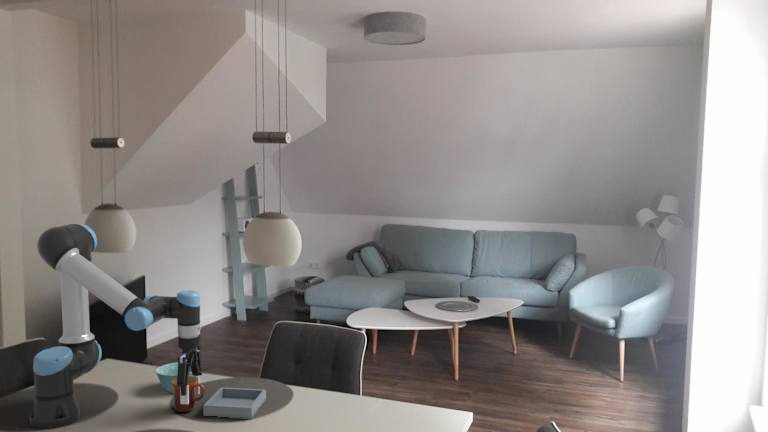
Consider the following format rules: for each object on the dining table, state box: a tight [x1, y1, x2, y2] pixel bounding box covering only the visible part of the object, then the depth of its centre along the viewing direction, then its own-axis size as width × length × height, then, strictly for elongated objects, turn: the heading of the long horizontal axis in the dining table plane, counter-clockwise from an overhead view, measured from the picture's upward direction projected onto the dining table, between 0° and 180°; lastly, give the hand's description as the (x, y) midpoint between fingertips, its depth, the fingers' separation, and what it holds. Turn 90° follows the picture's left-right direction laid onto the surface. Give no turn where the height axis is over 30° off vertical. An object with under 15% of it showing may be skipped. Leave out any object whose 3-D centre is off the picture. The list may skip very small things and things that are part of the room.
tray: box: [202, 387, 267, 420], centre depth 226 cm, size 17×17×4 cm
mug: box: [171, 376, 206, 413], centre depth 223 cm, size 12×9×10 cm
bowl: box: [155, 361, 194, 394], centre depth 243 cm, size 16×16×8 cm
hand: (190, 398), depth 223 cm, fingers closed on mug, 8 cm apart
